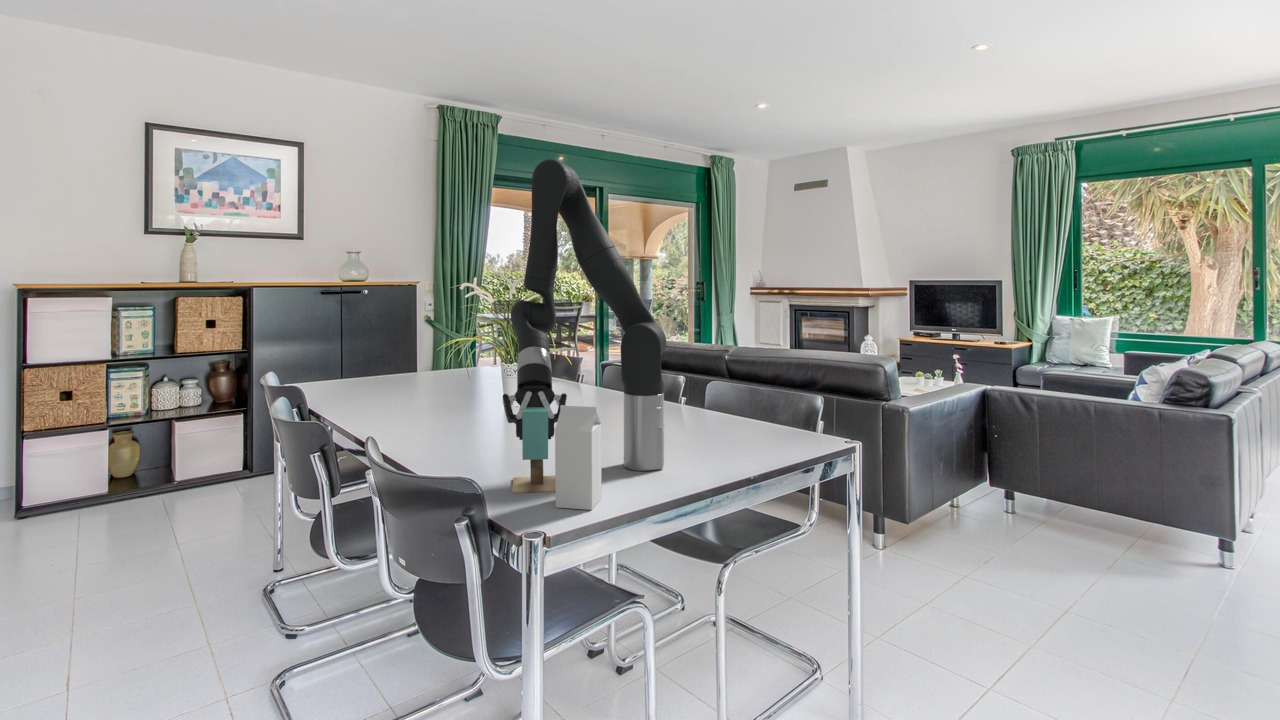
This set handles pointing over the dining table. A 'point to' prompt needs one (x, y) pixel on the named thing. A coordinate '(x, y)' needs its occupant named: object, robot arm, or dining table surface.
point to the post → (534, 480)
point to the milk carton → (578, 457)
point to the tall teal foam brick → (535, 433)
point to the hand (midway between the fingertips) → (535, 437)
